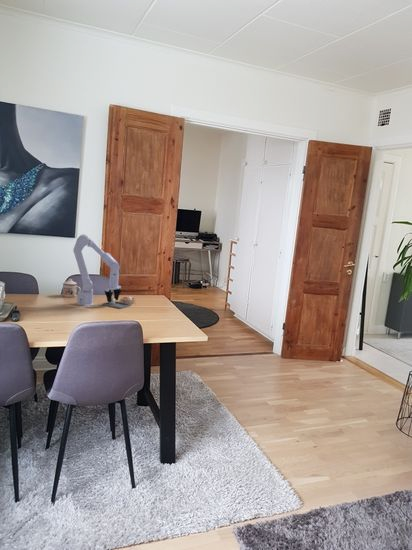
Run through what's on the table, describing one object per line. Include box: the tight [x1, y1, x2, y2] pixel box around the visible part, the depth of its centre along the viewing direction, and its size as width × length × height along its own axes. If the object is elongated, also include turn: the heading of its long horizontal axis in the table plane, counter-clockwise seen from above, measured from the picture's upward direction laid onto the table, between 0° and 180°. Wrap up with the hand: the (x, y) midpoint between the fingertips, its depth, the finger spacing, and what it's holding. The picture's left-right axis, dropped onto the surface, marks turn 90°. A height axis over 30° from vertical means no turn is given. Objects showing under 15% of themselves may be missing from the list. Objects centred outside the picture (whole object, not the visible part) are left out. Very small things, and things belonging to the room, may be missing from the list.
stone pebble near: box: [109, 297, 116, 305], centre depth 272 cm, size 4×4×4 cm
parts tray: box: [101, 300, 132, 310], centre depth 271 cm, size 12×14×2 cm
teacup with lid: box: [62, 278, 82, 298], centre depth 286 cm, size 12×9×12 cm
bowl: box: [119, 296, 137, 305], centre depth 283 cm, size 10×10×3 cm
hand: (112, 301), depth 272 cm, fingers open, 7 cm apart
